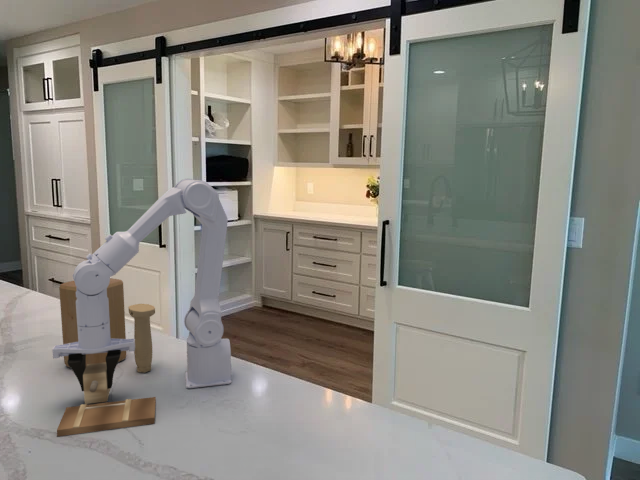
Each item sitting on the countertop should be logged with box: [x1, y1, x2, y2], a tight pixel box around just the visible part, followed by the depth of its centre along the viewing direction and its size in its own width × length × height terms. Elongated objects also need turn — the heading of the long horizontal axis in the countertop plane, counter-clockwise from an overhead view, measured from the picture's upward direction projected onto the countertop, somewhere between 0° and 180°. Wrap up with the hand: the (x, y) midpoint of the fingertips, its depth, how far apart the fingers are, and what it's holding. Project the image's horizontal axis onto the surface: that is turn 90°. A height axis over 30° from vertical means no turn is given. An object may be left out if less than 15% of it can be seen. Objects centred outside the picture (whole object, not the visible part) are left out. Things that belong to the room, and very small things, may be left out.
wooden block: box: [58, 277, 127, 368], centre depth 110 cm, size 10×10×20 cm
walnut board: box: [56, 396, 157, 437], centre depth 88 cm, size 16×8×1 cm, turn 107°
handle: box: [127, 303, 156, 374], centre depth 107 cm, size 5×6×15 cm
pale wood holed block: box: [83, 362, 111, 405], centre depth 93 cm, size 4×8×6 cm, turn 17°
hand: (97, 387), depth 94 cm, fingers closed on pale wood holed block, 4 cm apart
